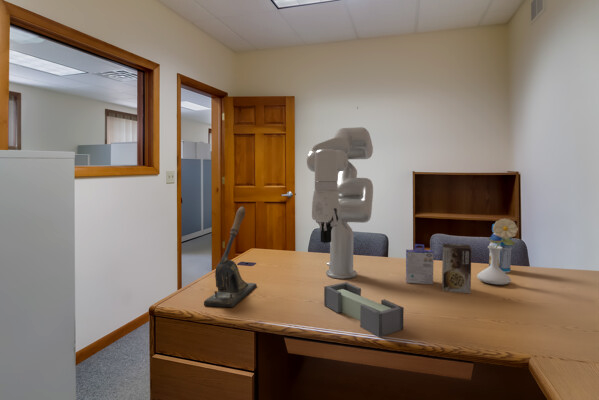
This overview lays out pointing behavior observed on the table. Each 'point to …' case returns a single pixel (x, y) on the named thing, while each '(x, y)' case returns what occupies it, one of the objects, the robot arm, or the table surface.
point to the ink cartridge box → (419, 265)
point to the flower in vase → (493, 271)
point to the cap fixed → (382, 319)
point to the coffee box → (456, 268)
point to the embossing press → (230, 274)
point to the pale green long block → (357, 304)
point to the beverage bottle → (501, 253)
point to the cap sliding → (338, 295)
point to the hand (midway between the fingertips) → (325, 242)
